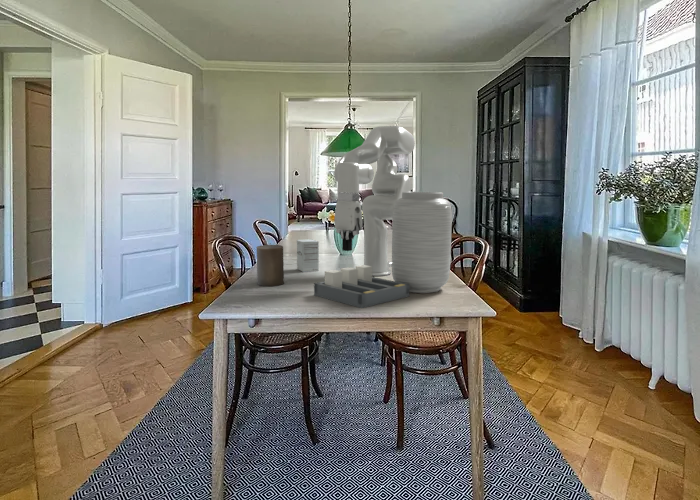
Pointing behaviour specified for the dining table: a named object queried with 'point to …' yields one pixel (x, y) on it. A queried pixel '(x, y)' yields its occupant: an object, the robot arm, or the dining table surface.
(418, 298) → the dining table surface
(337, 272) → the tab
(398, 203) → the vase
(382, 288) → the switch bank
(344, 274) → the tab middle
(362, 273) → the tab
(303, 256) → the supplement box
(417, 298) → the dining table surface
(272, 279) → the pillar candle
